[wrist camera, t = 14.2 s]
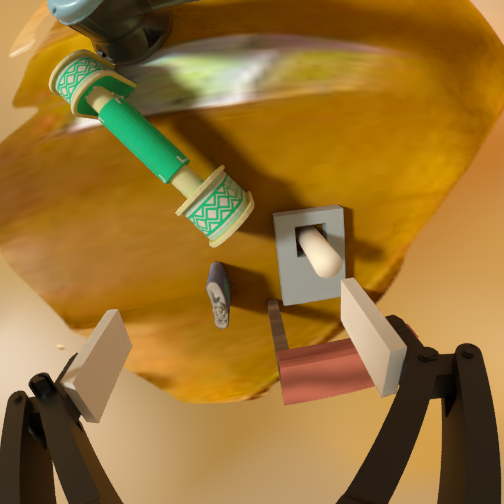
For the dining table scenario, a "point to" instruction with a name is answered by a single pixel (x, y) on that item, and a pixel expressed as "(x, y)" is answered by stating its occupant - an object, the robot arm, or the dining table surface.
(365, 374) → the curved red bench
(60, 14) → the robot arm
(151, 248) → the dining table surface
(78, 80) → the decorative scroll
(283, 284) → the socket block
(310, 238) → the peg
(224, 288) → the flask
